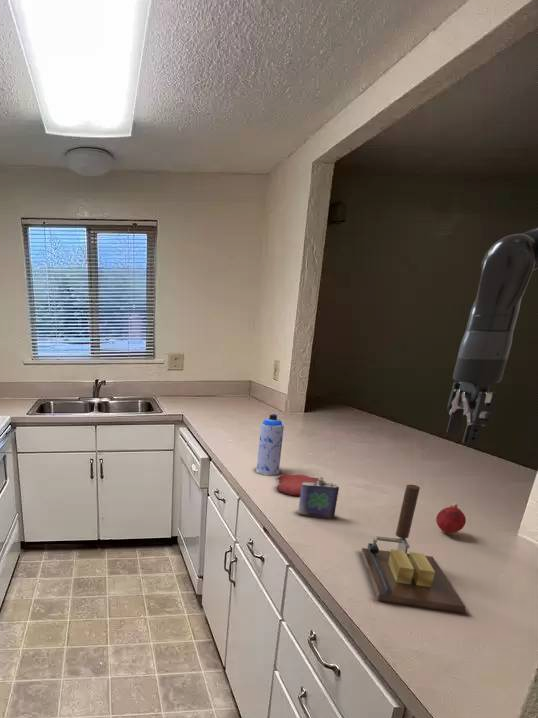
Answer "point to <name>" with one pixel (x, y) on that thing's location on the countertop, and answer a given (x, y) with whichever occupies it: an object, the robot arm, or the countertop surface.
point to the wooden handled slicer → (401, 521)
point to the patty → (293, 483)
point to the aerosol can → (270, 446)
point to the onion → (451, 519)
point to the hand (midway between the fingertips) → (460, 438)
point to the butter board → (412, 591)
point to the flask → (318, 499)
